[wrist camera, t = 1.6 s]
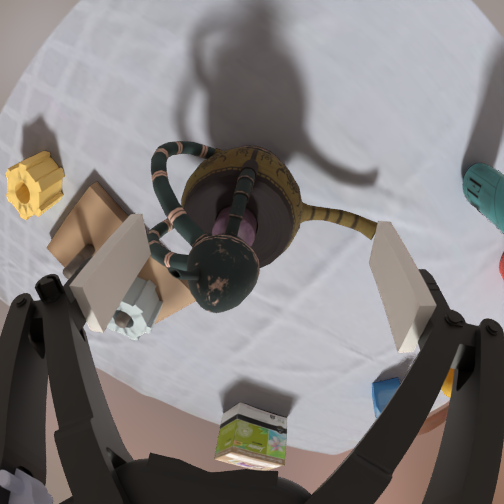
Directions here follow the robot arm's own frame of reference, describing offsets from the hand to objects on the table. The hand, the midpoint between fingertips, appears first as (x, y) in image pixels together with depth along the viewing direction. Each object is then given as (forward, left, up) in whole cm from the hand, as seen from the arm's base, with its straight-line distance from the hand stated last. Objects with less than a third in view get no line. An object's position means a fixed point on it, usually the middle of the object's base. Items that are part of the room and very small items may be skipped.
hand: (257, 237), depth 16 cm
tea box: (+52, -43, -22) cm, 70 cm away
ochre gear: (-20, -31, -22) cm, 43 cm away
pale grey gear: (+5, -32, -20) cm, 38 cm away
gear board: (0, -32, -22) cm, 38 cm away
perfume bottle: (+58, -9, -22) cm, 62 cm away
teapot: (+5, -3, -22) cm, 23 cm away
